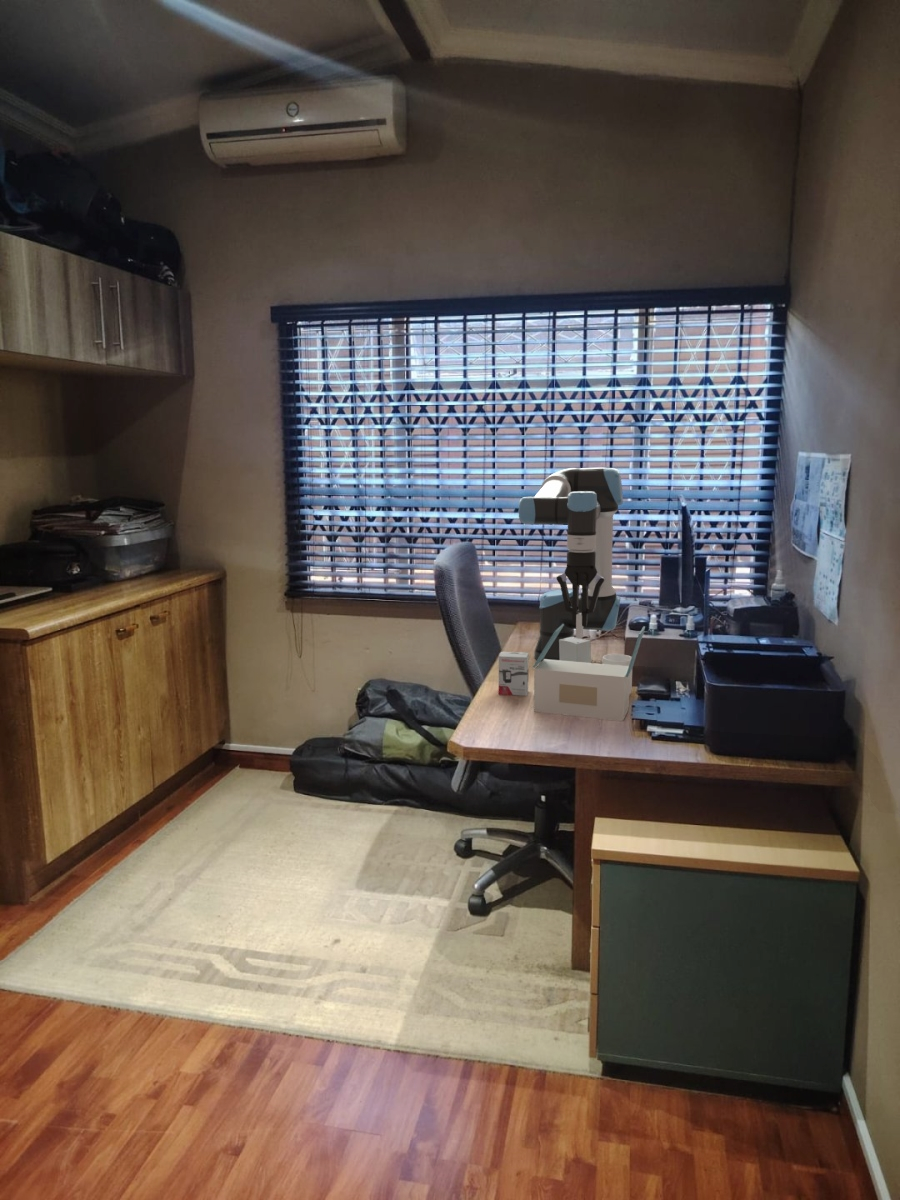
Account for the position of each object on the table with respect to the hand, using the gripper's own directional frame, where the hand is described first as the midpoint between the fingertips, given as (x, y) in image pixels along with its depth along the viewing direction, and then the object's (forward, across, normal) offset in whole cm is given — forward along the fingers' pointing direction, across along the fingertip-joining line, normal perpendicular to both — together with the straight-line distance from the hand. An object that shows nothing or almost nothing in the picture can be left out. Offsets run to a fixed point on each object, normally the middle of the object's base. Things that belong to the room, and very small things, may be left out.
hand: (579, 637), depth 209 cm
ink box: (+21, -21, +9) cm, 31 cm away
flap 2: (+3, +15, 0) cm, 15 cm away
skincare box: (+21, -5, +20) cm, 29 cm away
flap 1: (+3, -8, 0) cm, 9 cm away
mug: (+21, +8, +17) cm, 28 cm away
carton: (+20, +1, 0) cm, 20 cm away
